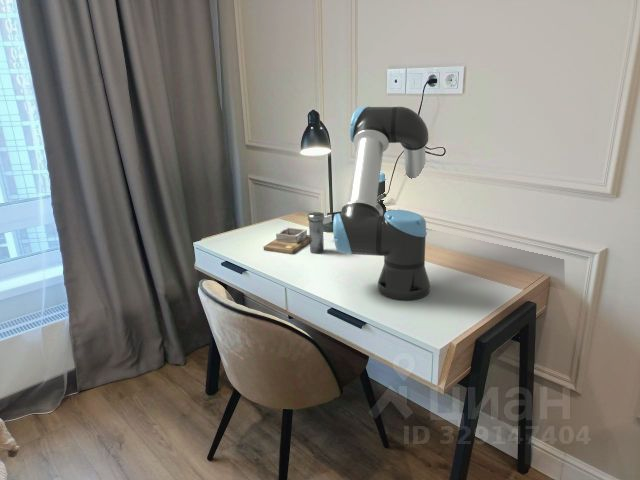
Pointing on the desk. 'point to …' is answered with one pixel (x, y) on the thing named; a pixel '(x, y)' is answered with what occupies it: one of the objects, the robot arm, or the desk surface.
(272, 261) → the desk surface
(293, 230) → the base
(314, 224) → the grey capped canister
